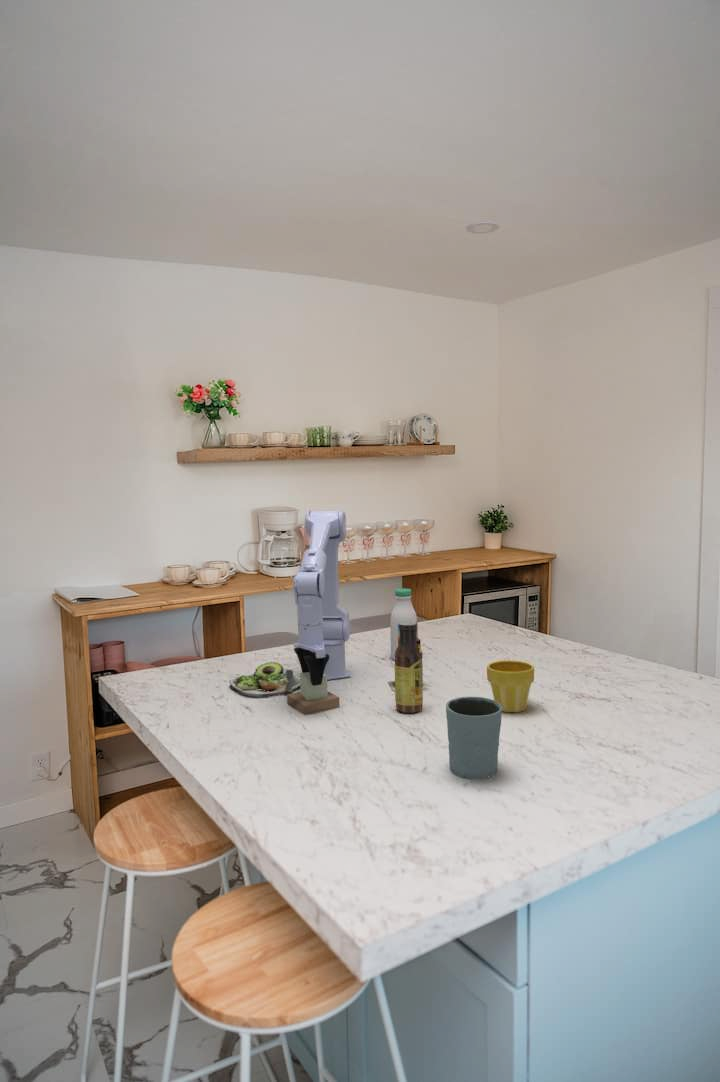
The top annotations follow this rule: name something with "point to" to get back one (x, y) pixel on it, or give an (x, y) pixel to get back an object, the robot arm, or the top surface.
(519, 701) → the plant pot
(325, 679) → the sage cube
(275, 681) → the salad plate
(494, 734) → the grey blue cup
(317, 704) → the walnut block
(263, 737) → the top surface
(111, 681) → the top surface
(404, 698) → the sauce bottle
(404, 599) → the milk bottle
